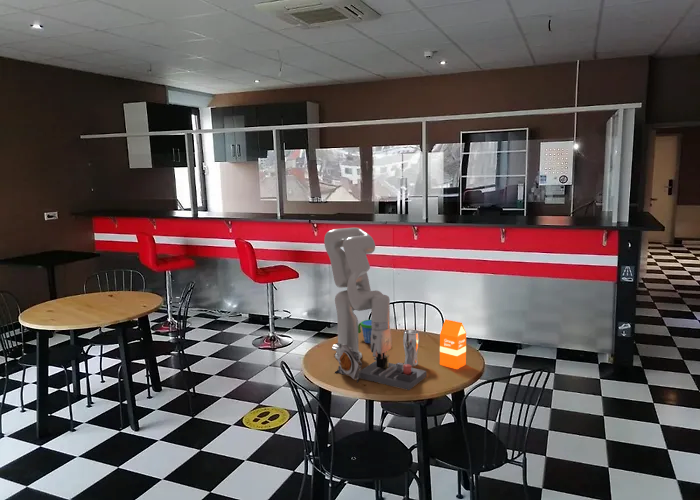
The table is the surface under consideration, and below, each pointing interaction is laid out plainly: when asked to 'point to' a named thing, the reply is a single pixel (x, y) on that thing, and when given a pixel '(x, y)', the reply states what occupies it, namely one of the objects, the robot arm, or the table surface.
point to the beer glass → (411, 346)
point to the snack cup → (366, 330)
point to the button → (407, 369)
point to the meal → (348, 361)
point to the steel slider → (399, 366)
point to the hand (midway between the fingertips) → (380, 366)
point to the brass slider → (386, 362)
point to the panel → (392, 376)
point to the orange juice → (453, 344)
